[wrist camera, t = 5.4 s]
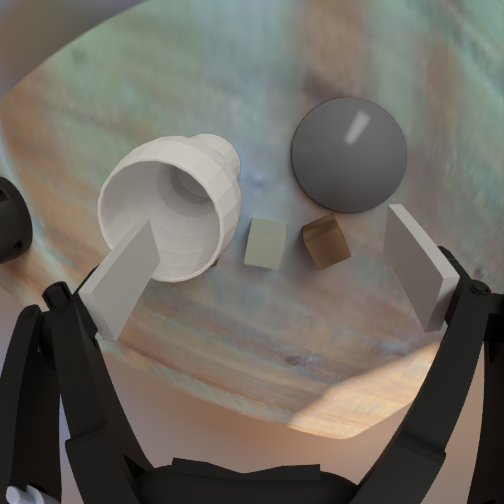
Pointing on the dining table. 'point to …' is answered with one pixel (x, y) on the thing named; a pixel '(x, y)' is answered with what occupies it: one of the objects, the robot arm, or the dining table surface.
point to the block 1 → (265, 243)
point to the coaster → (349, 154)
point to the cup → (176, 201)
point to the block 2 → (325, 241)
